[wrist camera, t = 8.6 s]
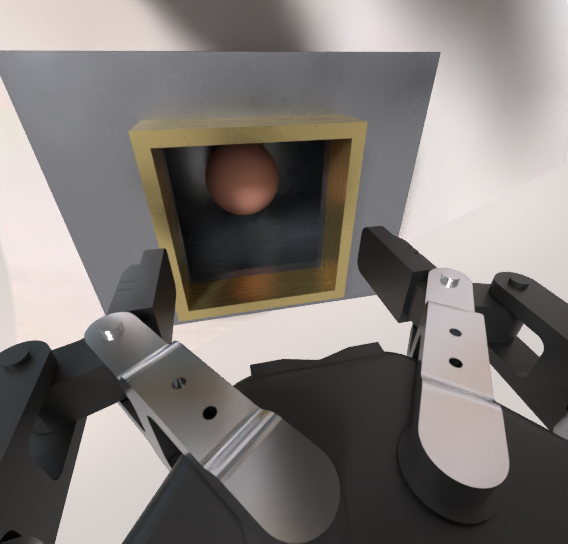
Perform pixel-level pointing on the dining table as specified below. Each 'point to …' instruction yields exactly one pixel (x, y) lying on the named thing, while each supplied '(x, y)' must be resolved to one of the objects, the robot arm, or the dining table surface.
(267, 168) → the ball
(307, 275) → the grey box with opening
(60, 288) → the dining table surface
